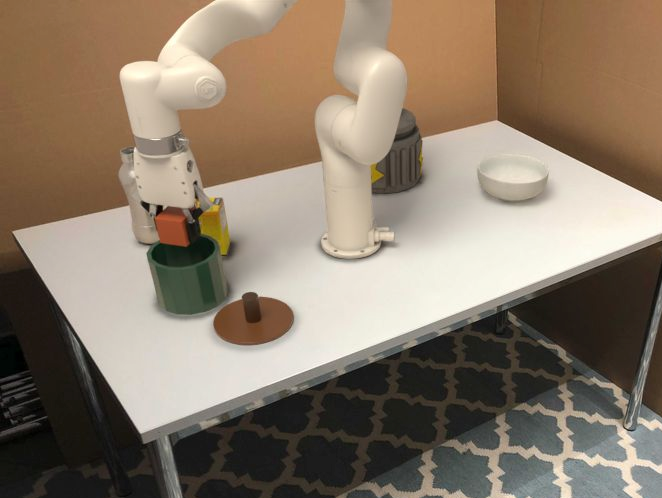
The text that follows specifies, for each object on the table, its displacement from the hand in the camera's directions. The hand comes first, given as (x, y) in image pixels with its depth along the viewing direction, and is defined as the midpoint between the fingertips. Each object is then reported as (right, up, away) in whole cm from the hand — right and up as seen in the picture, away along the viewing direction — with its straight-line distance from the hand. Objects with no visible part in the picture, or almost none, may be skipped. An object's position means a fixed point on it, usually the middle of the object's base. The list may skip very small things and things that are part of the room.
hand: (179, 236), depth 138 cm
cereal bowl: (+62, +17, +47) cm, 80 cm away
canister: (0, -10, +8) cm, 14 cm away
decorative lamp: (+31, +22, +51) cm, 64 cm away
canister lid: (+13, -15, +2) cm, 20 cm away
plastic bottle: (-15, +3, +24) cm, 29 cm away
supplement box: (-1, 0, +22) cm, 22 cm away
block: (0, 0, 0) cm, 0 cm away
